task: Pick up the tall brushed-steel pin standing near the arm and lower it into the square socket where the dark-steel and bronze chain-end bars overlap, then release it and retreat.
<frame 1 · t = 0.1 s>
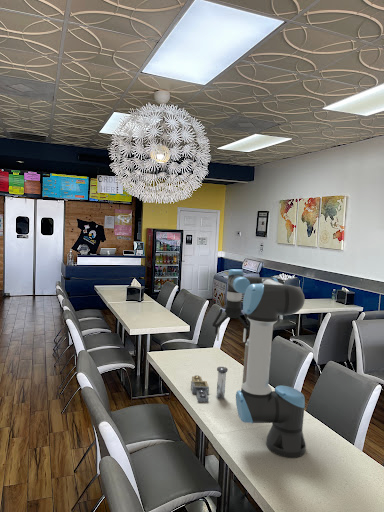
hand: (230, 340, 200), 28 cm above the table, fingers open, 13 cm apart
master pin: (220, 397, 197), on the table
chain ends: (199, 390, 204), on the table
thermos bottle: (249, 384, 217), on the table
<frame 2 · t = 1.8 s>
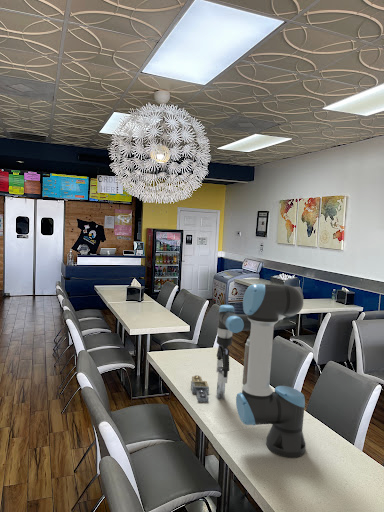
hand: (221, 377, 197), 10 cm above the table, fingers open, 13 cm apart
nothing on the table moved.
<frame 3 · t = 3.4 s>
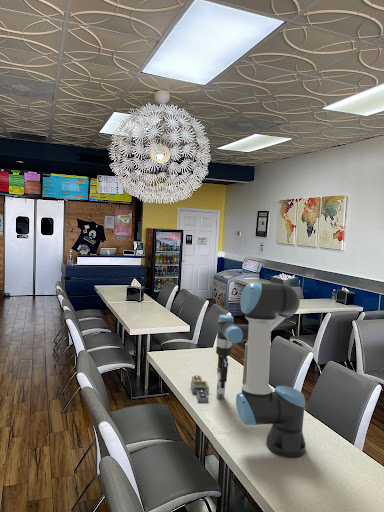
hand: (220, 391, 197), 3 cm above the table, fingers closed on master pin, 4 cm apart
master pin: (220, 397, 197), on the table, touching gripper
everything else where it was.
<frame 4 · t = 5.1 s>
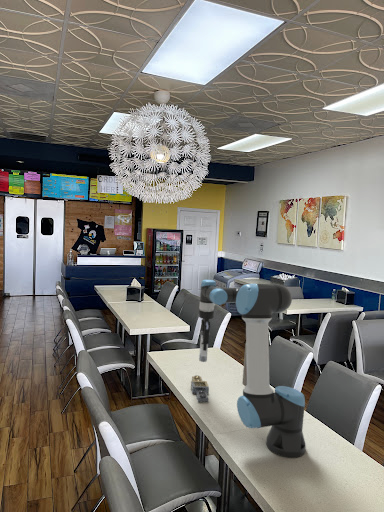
hand: (203, 354, 202), 19 cm above the table, fingers closed on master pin, 4 cm apart
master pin: (202, 360, 203), point 16 cm above the table, touching gripper
everything else where it was.
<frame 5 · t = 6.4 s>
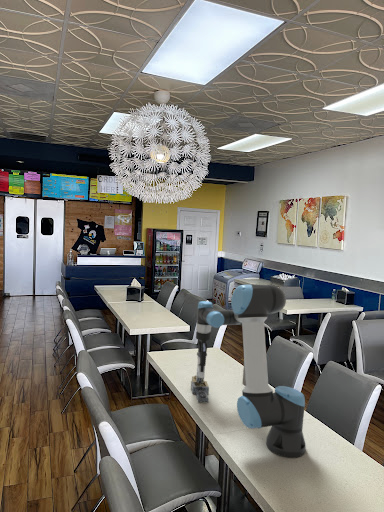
hand: (200, 375, 203), 8 cm above the table, fingers closed on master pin, 4 cm apart
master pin: (200, 381, 203), point 5 cm above the table, touching gripper
everything else where it was.
when the fingers open (5 cm above the table, at t = 7.2 s): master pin drops 1 cm, resting in chain ends.
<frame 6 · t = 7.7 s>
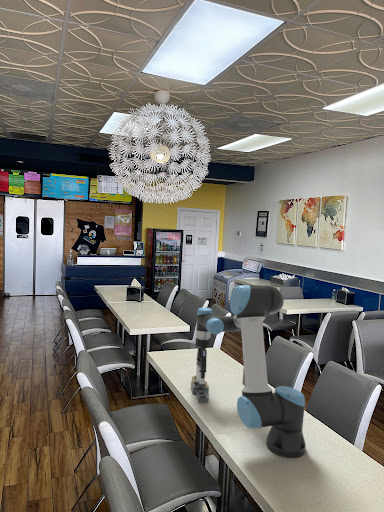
hand: (200, 379, 203), 6 cm above the table, fingers open, 11 cm apart
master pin: (199, 390, 204), resting in chain ends
everything else where it was.
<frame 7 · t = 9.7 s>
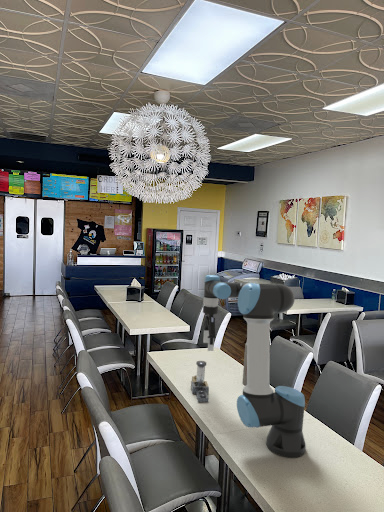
hand: (208, 346, 201), 24 cm above the table, fingers open, 13 cm apart
nothing on the table moved.
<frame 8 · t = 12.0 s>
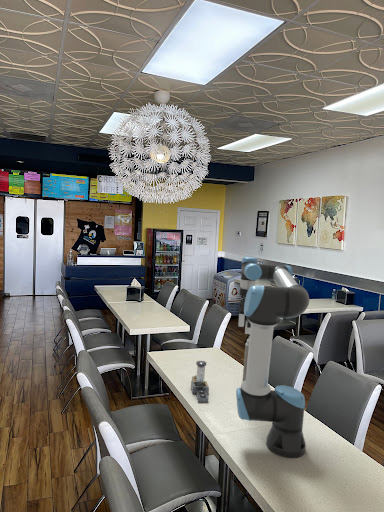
hand: (244, 330, 197), 35 cm above the table, fingers open, 13 cm apart
nothing on the table moved.
at the end: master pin 0.0 cm off-centre on the chain ends, point 0.0 cm above the chain ends's base; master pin tilted 0°; the gripper is holding nothing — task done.
